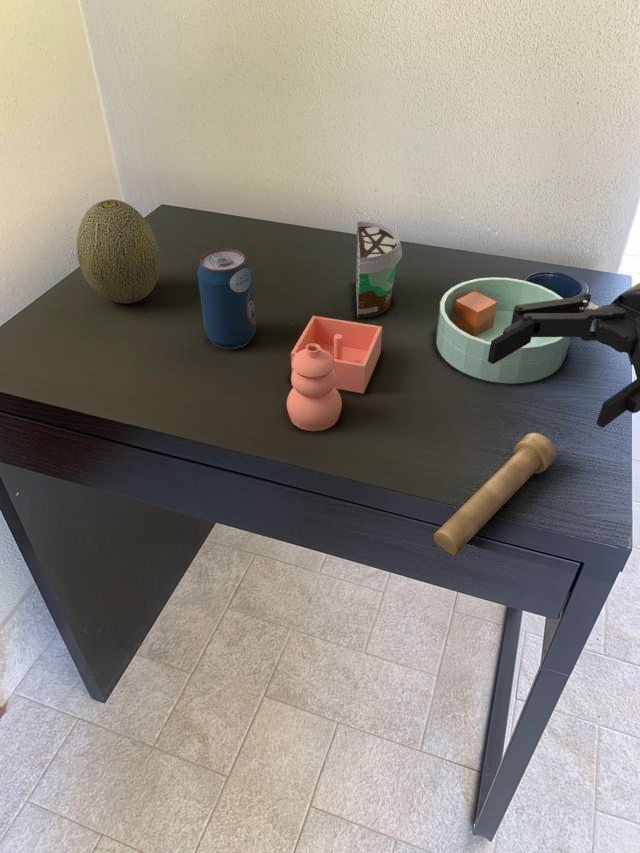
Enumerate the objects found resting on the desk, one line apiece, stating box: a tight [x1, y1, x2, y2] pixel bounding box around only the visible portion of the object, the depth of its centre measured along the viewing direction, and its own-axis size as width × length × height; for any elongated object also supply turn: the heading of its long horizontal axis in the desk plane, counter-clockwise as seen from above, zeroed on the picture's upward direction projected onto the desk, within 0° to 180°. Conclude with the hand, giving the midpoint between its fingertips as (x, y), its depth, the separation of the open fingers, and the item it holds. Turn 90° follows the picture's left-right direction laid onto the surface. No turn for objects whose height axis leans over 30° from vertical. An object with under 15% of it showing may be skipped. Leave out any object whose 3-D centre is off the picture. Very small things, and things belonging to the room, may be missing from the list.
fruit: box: [76, 199, 161, 304], centre depth 98 cm, size 11×11×15 cm
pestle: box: [433, 432, 557, 556], centre depth 70 cm, size 4×4×17 cm
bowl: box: [435, 276, 572, 384], centre depth 91 cm, size 17×17×6 cm
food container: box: [355, 220, 403, 319], centre depth 98 cm, size 12×6×10 cm, turn 179°
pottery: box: [286, 315, 383, 432], centre depth 83 cm, size 18×10×10 cm, turn 163°
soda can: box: [196, 248, 257, 350], centre depth 91 cm, size 7×7×12 cm
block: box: [453, 291, 497, 337], centre depth 94 cm, size 4×4×4 cm
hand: (544, 382), depth 69 cm, fingers open, 13 cm apart
